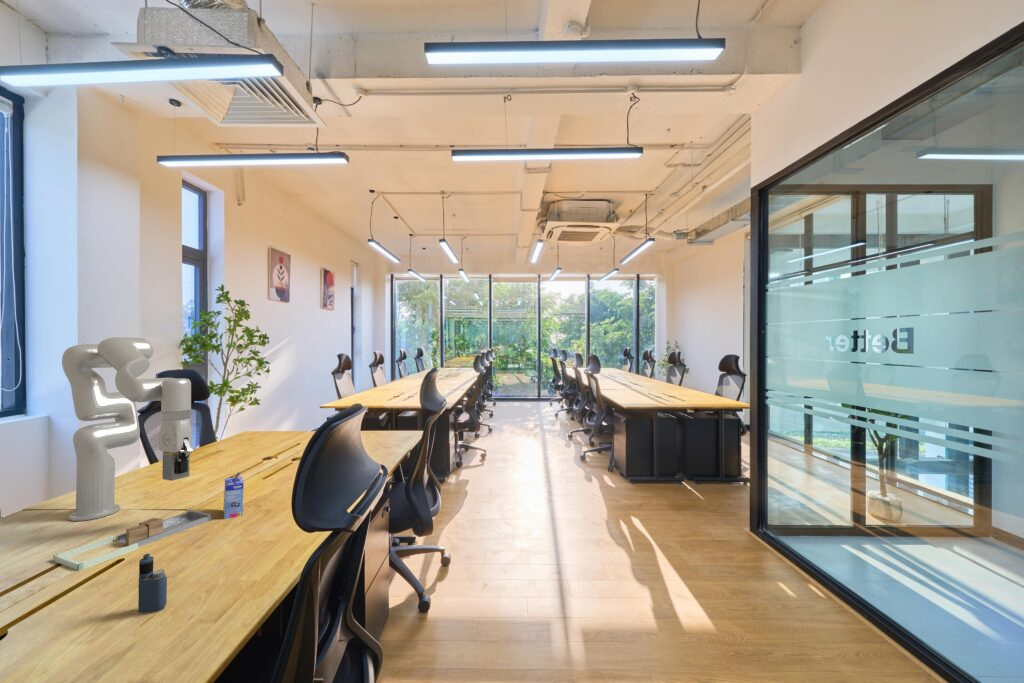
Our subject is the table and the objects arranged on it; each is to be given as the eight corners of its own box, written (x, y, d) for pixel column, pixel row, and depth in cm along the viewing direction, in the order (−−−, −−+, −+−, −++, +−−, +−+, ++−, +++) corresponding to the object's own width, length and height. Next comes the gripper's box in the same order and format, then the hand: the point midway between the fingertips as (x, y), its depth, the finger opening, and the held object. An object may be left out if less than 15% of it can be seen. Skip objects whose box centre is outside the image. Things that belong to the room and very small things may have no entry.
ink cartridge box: (243, 518, 139) (244, 475, 140) (223, 522, 136) (224, 479, 136) (241, 509, 147) (242, 469, 147) (223, 513, 144) (223, 472, 144)
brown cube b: (125, 542, 120) (126, 528, 120) (143, 537, 123) (144, 524, 123) (129, 546, 117) (129, 532, 117) (147, 541, 121) (147, 527, 121)
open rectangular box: (115, 544, 121) (115, 534, 121) (190, 518, 139) (190, 509, 139) (137, 550, 117) (137, 540, 117) (210, 523, 135) (211, 514, 135)
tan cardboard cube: (138, 536, 124) (138, 523, 124) (152, 530, 127) (152, 517, 128) (148, 537, 123) (149, 524, 123) (162, 531, 127) (163, 518, 127)
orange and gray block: (162, 479, 131) (162, 452, 132) (180, 474, 136) (180, 449, 136) (171, 480, 129) (171, 453, 130) (189, 476, 134) (189, 450, 134)
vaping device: (144, 606, 91) (145, 552, 92) (169, 604, 92) (170, 551, 92) (134, 613, 89) (135, 558, 89) (160, 612, 89) (161, 556, 89)
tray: (53, 564, 109) (53, 555, 109) (112, 544, 121) (112, 535, 121) (78, 574, 104) (78, 564, 105) (137, 552, 116) (137, 543, 116)
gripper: (147, 417, 133) (147, 472, 133) (179, 419, 127) (179, 478, 126) (173, 413, 140) (173, 466, 139) (205, 415, 133) (205, 471, 133)
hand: (176, 471), depth 133 cm, fingers closed on orange and gray block, 5 cm apart
